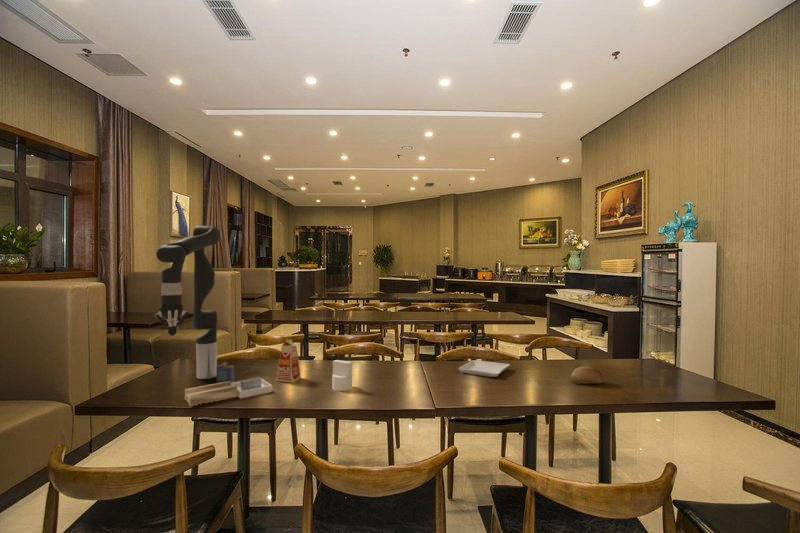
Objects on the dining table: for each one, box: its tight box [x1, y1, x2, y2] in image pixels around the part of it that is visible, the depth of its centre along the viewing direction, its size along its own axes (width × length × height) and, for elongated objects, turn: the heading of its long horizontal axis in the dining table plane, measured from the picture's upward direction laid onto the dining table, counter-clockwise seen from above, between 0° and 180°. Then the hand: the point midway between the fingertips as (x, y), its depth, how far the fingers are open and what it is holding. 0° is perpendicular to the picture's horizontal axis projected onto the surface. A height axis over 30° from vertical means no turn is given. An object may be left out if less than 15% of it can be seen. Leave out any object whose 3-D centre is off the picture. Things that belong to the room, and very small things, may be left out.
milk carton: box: [275, 338, 301, 383], centre depth 198 cm, size 9×9×20 cm
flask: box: [215, 361, 235, 384], centre depth 188 cm, size 9×3×11 cm, turn 74°
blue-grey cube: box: [249, 376, 262, 389], centre depth 182 cm, size 4×4×4 cm
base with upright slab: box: [331, 359, 353, 392], centre depth 184 cm, size 9×9×12 cm
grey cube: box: [240, 378, 253, 391], centre depth 179 cm, size 4×4×4 cm
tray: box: [231, 378, 274, 399], centre depth 180 cm, size 16×14×3 cm
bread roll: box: [570, 365, 605, 385], centre depth 189 cm, size 10×15×8 cm, turn 89°
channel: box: [184, 381, 238, 407], centre depth 170 cm, size 10×18×4 cm, turn 129°
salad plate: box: [458, 359, 511, 378], centre depth 210 cm, size 21×21×3 cm
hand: (172, 335), depth 168 cm, fingers closed
